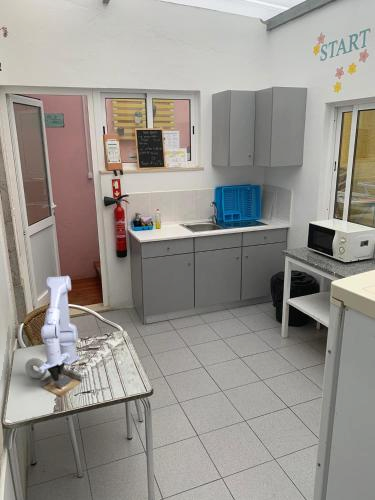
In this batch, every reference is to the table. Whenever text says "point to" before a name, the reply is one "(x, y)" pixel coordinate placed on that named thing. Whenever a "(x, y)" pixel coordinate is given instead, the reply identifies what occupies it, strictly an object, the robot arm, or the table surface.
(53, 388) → the tray
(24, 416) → the table surface
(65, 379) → the bracket
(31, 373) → the donut
